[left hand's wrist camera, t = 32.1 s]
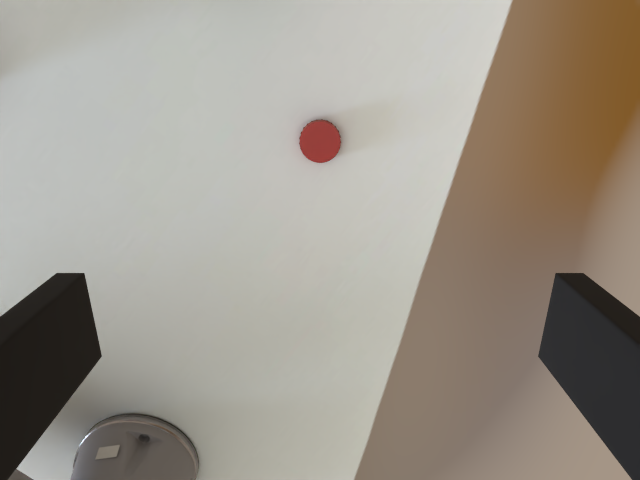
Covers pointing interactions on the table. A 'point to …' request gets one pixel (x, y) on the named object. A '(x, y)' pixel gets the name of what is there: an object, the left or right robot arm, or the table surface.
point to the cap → (320, 141)
